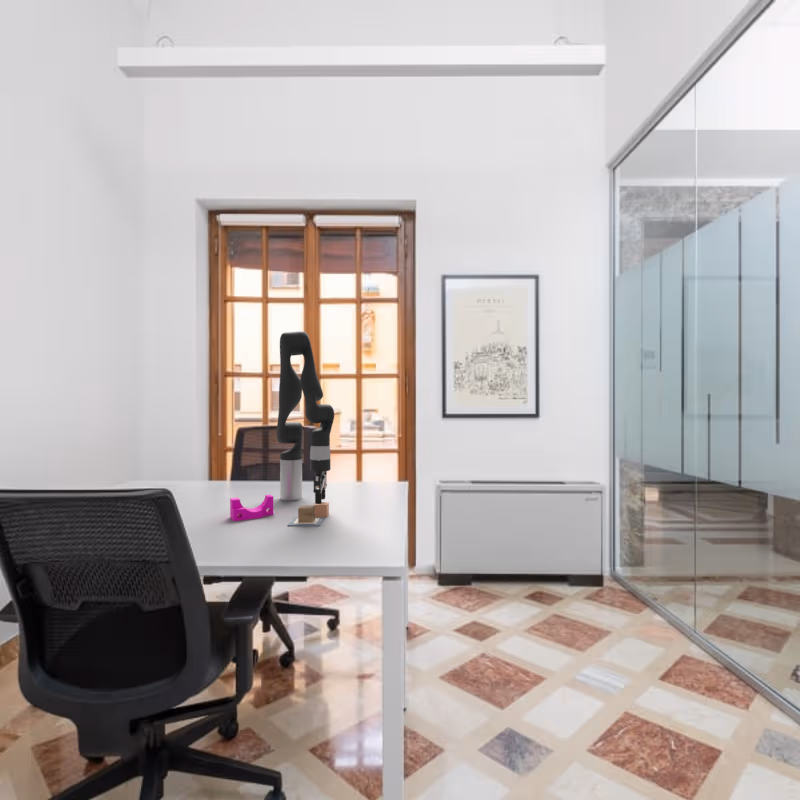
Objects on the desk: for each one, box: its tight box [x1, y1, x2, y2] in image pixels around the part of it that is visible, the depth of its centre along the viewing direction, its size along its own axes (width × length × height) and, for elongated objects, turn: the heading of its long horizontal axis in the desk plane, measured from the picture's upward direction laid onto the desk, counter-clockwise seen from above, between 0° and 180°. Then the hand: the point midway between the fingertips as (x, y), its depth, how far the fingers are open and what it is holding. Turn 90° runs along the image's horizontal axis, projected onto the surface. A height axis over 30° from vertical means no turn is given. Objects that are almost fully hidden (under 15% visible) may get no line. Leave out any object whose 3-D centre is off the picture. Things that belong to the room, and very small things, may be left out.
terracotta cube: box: [313, 501, 330, 518], centre depth 198 cm, size 5×5×5 cm
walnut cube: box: [297, 504, 315, 523], centre depth 188 cm, size 5×5×5 cm
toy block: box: [229, 494, 274, 522], centre depth 196 cm, size 15×6×8 cm, turn 119°
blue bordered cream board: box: [287, 516, 326, 527], centre depth 188 cm, size 11×11×1 cm
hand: (320, 501), depth 197 cm, fingers open, 8 cm apart
